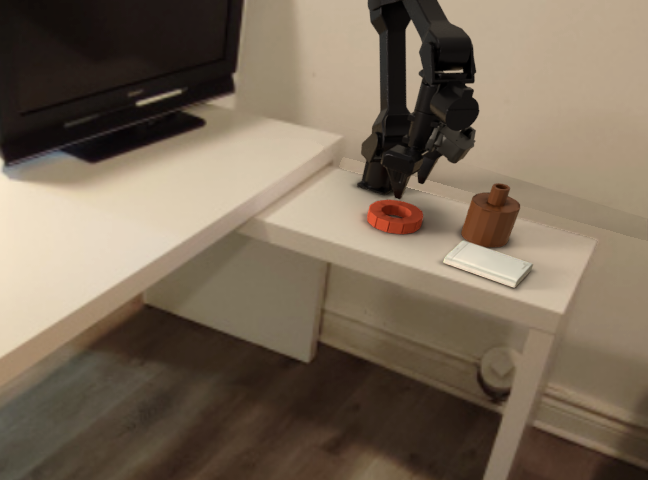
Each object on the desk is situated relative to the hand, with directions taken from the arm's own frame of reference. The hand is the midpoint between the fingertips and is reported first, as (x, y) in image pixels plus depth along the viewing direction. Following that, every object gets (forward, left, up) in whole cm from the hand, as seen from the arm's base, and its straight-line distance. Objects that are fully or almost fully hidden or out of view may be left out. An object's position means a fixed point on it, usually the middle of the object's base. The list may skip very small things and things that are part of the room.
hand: (409, 190), depth 151 cm
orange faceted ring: (0, -4, -5) cm, 6 cm away
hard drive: (+20, -8, -5) cm, 22 cm away
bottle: (+15, +3, -5) cm, 16 cm away
